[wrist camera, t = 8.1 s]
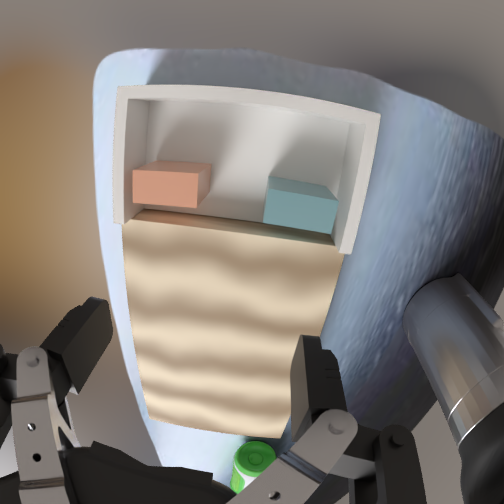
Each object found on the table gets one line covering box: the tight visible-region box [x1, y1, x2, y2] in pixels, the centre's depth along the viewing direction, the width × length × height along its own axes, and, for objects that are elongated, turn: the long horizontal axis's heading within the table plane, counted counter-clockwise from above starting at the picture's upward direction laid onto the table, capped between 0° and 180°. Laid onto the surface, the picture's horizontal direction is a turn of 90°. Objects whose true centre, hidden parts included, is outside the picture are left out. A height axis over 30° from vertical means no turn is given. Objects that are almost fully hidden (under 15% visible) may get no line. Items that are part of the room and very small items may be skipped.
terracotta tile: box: [133, 160, 212, 208], centre depth 23 cm, size 5×5×2 cm
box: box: [113, 85, 381, 254], centre depth 22 cm, size 11×19×5 cm, turn 83°
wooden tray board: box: [122, 208, 345, 438], centre depth 32 cm, size 30×19×4 cm, turn 173°
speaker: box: [230, 441, 277, 494], centre depth 43 cm, size 18×7×8 cm, turn 175°
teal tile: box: [263, 176, 339, 234], centre depth 23 cm, size 5×5×2 cm
